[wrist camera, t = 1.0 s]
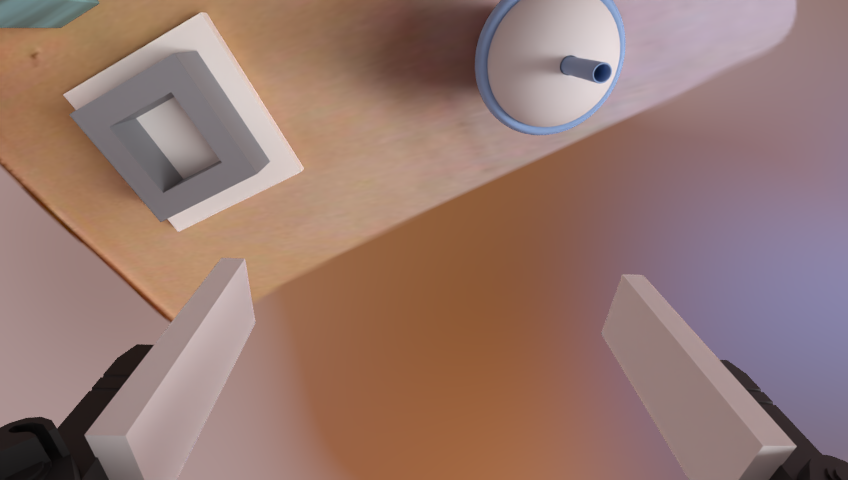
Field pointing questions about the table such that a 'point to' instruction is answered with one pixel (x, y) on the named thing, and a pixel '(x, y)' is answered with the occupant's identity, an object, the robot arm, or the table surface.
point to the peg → (41, 12)
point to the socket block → (184, 125)
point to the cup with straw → (549, 62)
